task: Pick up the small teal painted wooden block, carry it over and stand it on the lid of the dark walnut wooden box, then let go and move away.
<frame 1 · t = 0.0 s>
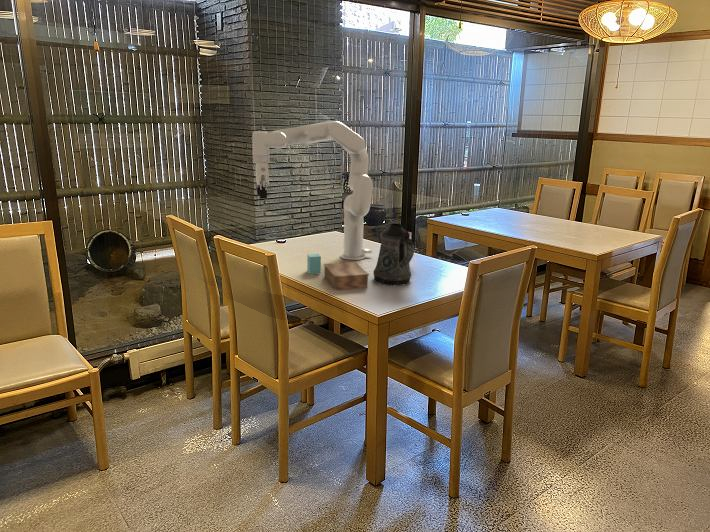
hand: (262, 196, 247), 31 cm above the table, tool pointing down, fingers open, 9 cm apart
teal block: (313, 272, 241), on the table
walnut box: (345, 282, 229), on the table
candy bar box: (398, 266, 255), on the table
beer stein: (394, 281, 233), on the table
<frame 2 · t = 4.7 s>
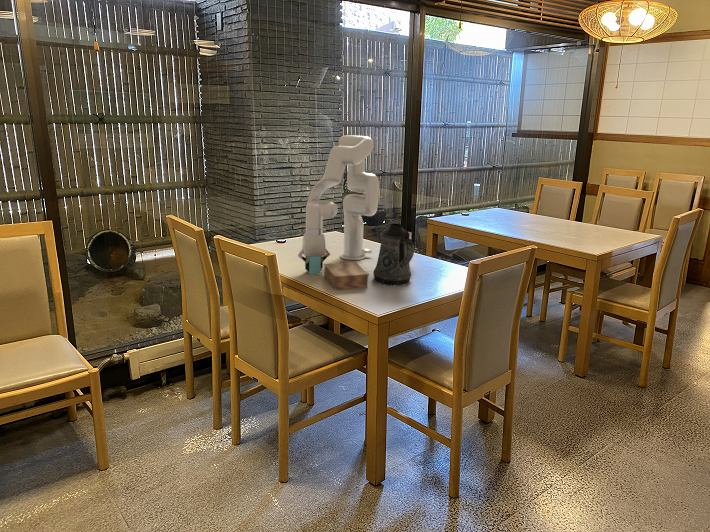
hand: (313, 270, 241), 1 cm above the table, tool pointing down, fingers closed on teal block, 5 cm apart
teal block: (313, 272, 241), on the table, touching gripper
everything else where it was.
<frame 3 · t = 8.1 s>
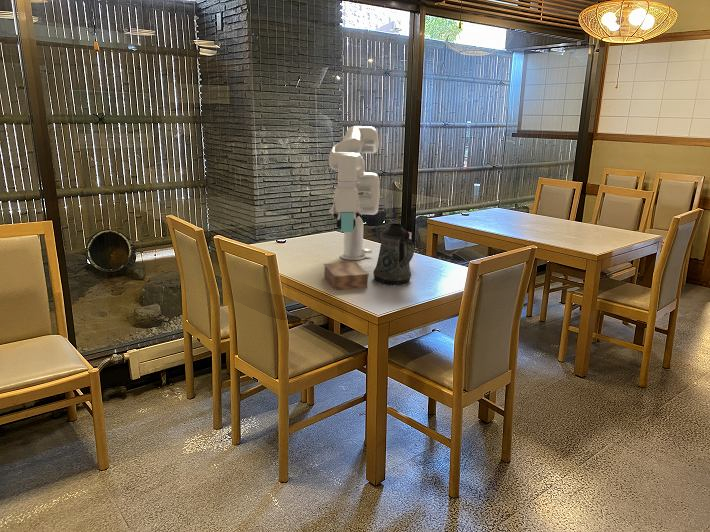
hand: (345, 228, 222), 24 cm above the table, tool pointing down, fingers closed on teal block, 5 cm apart
teal block: (345, 230, 223), point 22 cm above the table, touching gripper
everything else where it was.
when the fingers open (8 cm above the table, at t = 11.5 s): teal block drops 1 cm, resting on walnut box.
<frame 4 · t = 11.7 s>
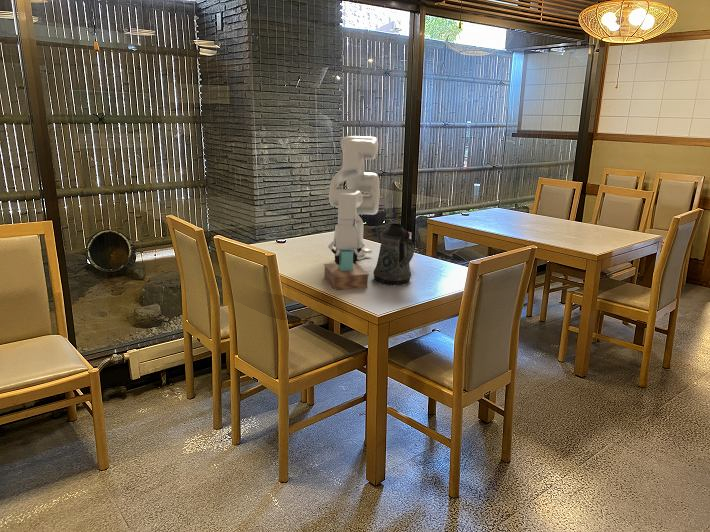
hand: (345, 263, 226), 8 cm above the table, tool pointing down, fingers open, 6 cm apart
teal block: (345, 268, 227), point 6 cm above the table, touching walnut box
everything else where it was.
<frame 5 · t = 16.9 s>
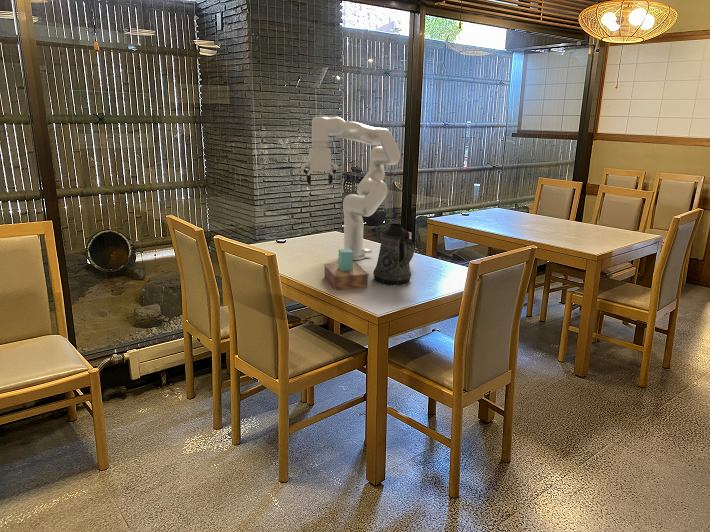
hand: (319, 183, 243), 38 cm above the table, tool pointing down, fingers open, 9 cm apart
nothing on the table moved.
at the end: teal block inside the target area on the walnut box (0.1 cm from its centre), point 6.0 cm above the walnut box's base; teal block tilted 0°; the gripper is holding nothing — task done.
